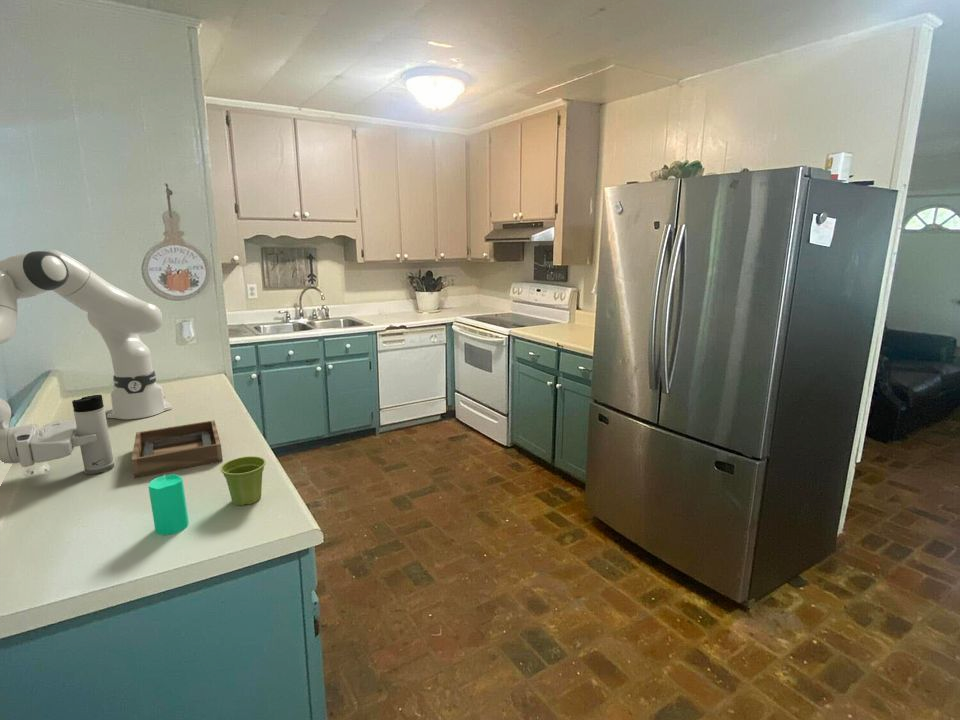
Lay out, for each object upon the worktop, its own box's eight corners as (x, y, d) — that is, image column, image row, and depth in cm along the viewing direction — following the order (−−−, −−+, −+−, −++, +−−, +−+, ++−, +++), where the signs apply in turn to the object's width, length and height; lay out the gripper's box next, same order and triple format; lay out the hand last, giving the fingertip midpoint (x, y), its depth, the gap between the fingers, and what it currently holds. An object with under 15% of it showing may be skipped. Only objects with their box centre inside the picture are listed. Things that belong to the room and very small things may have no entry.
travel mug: (100, 475, 131) (86, 400, 127) (78, 473, 133) (64, 398, 128) (121, 465, 137) (109, 393, 133) (100, 463, 139) (87, 391, 134)
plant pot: (277, 493, 122) (274, 459, 120) (248, 512, 113) (244, 476, 111) (246, 487, 125) (242, 453, 123) (215, 505, 116) (210, 470, 114)
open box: (138, 448, 148) (136, 432, 147) (216, 435, 158) (214, 420, 157) (134, 478, 130) (131, 460, 129) (222, 461, 140) (220, 444, 138)
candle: (164, 520, 110) (156, 468, 108) (193, 519, 111) (186, 467, 108) (149, 536, 105) (140, 481, 102) (180, 534, 105) (172, 480, 102)
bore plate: (146, 447, 146) (145, 441, 146) (209, 437, 154) (208, 430, 154) (143, 468, 133) (142, 461, 133) (213, 455, 141) (212, 448, 140)
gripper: (40, 440, 136) (104, 431, 143) (21, 470, 119) (95, 457, 126) (35, 418, 134) (100, 409, 141) (16, 444, 117) (91, 433, 124)
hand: (98, 432), depth 133 cm, fingers closed on travel mug, 6 cm apart
